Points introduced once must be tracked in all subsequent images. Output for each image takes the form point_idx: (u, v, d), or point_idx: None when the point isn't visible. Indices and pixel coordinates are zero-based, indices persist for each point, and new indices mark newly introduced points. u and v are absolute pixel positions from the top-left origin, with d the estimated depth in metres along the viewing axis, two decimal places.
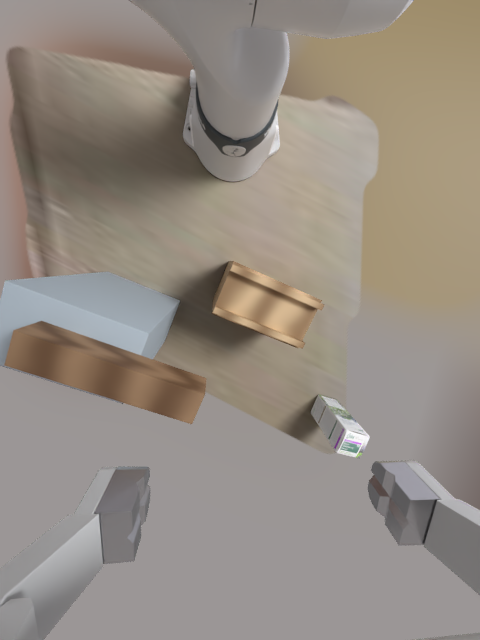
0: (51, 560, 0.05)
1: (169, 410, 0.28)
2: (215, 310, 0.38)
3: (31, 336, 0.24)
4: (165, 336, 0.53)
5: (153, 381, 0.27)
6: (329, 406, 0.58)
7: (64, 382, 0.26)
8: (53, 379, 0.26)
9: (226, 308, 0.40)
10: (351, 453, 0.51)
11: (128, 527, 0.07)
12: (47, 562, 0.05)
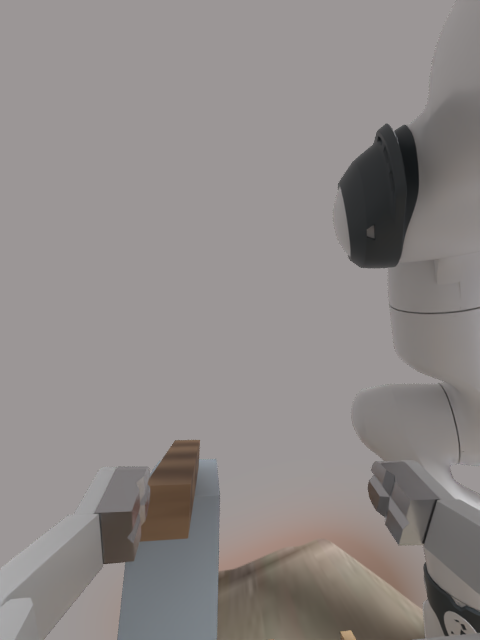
0: (51, 560, 0.05)
1: (160, 474, 0.24)
2: None
3: (199, 441, 0.39)
4: None
5: (190, 465, 0.27)
6: None
7: (171, 448, 0.35)
8: (171, 446, 0.36)
9: None
10: None
11: (128, 527, 0.07)
12: (46, 562, 0.05)
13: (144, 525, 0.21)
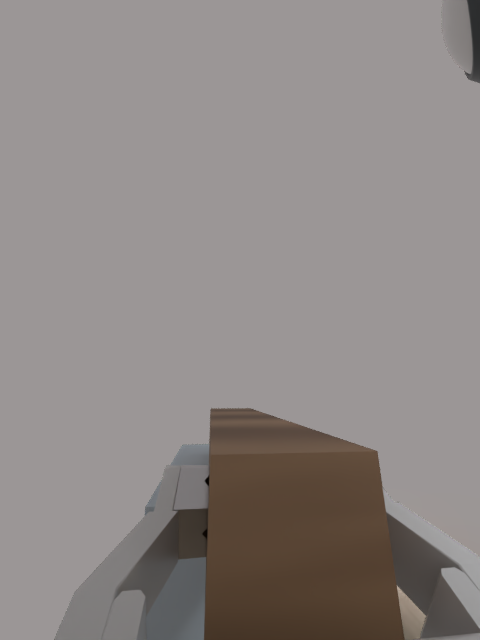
0: (146, 555, 0.06)
1: (234, 434, 0.08)
2: None
3: (252, 409, 0.23)
4: None
5: (287, 424, 0.11)
6: None
7: (213, 412, 0.19)
8: (212, 411, 0.20)
9: None
10: None
11: (204, 523, 0.07)
12: (143, 557, 0.05)
13: (223, 623, 0.05)
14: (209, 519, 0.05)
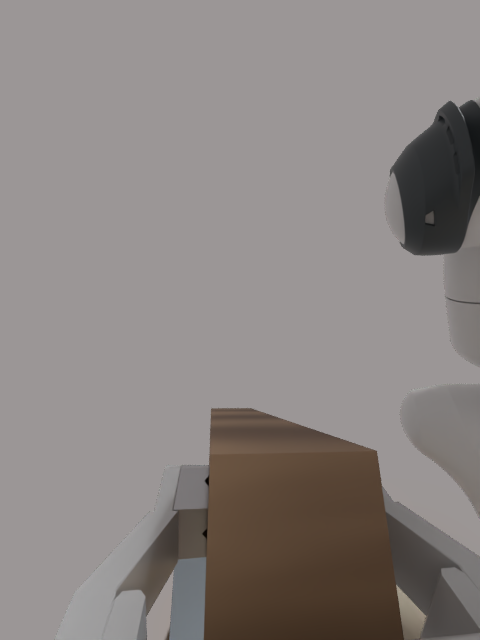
0: (146, 555, 0.06)
1: (234, 434, 0.08)
2: None
3: (253, 409, 0.23)
4: None
5: (287, 424, 0.11)
6: None
7: (213, 412, 0.19)
8: (213, 411, 0.20)
9: None
10: None
11: (203, 523, 0.07)
12: (143, 556, 0.06)
13: (222, 622, 0.05)
14: (209, 519, 0.05)
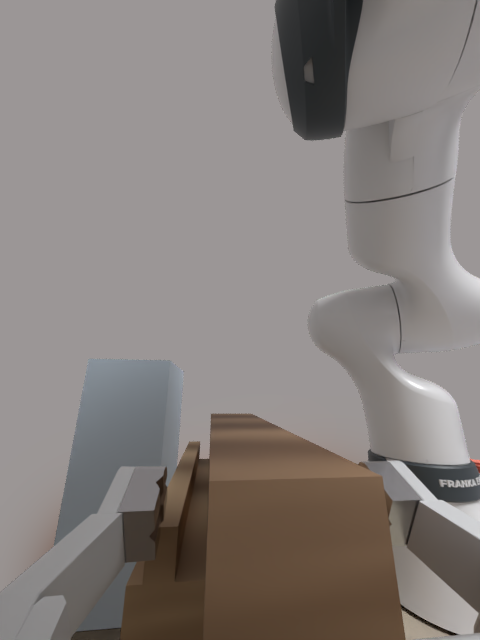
0: (79, 558, 0.05)
1: (234, 450, 0.08)
2: (194, 442, 0.23)
3: None
4: None
5: (288, 436, 0.11)
6: None
7: (213, 419, 0.19)
8: (213, 417, 0.20)
9: (200, 464, 0.21)
10: None
11: (150, 526, 0.07)
12: (75, 560, 0.05)
13: None
14: (207, 550, 0.05)
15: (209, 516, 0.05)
